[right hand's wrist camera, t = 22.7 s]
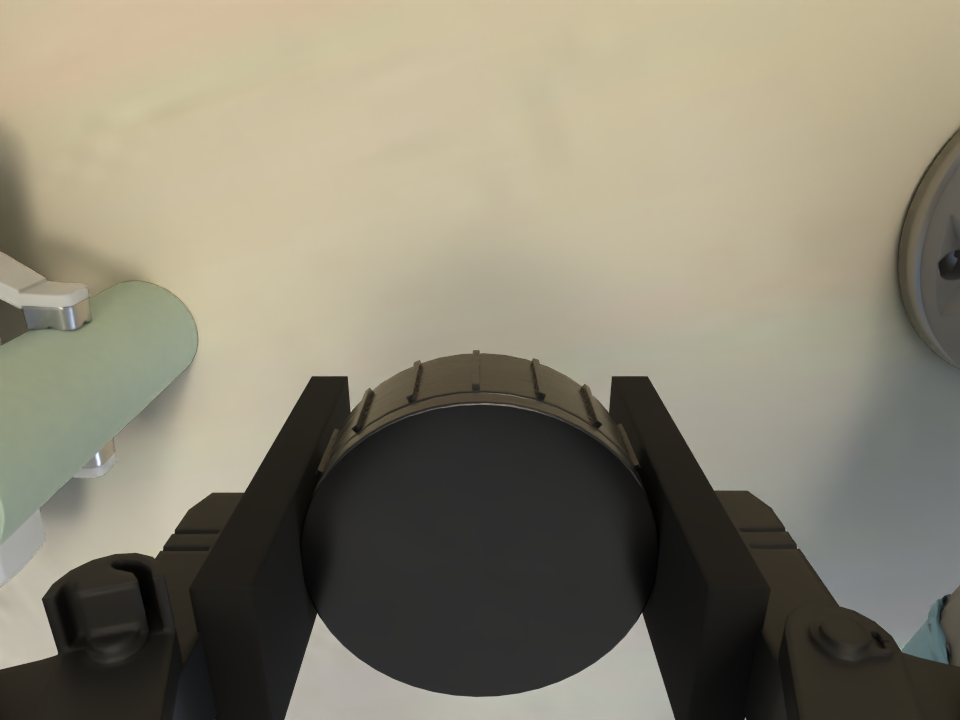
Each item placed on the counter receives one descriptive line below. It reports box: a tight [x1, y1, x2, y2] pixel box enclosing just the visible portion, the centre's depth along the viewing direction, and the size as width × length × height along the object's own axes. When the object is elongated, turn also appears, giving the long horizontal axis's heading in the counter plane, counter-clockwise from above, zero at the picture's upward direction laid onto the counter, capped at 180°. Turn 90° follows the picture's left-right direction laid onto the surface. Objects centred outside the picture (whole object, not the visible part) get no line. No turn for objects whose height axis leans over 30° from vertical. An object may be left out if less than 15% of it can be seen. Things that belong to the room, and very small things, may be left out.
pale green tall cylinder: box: [0, 281, 198, 545], centre depth 26 cm, size 5×5×17 cm
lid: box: [300, 350, 659, 697], centre depth 11 cm, size 6×6×2 cm
